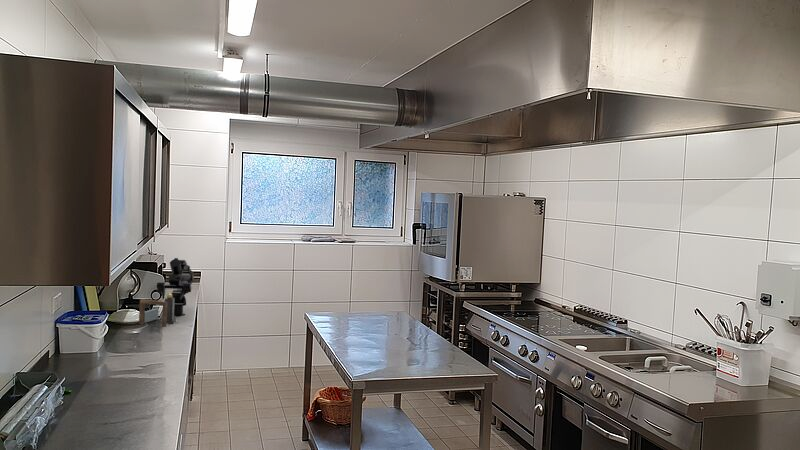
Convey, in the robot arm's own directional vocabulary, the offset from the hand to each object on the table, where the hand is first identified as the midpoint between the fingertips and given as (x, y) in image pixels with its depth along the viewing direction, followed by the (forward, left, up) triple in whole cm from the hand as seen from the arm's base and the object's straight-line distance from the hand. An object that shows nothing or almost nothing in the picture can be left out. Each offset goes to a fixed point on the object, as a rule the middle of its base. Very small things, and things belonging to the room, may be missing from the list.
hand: (171, 299), depth 346 cm
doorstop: (+4, +2, -13) cm, 14 cm away
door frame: (+13, -2, -13) cm, 18 cm away
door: (+6, -9, -12) cm, 16 cm away
